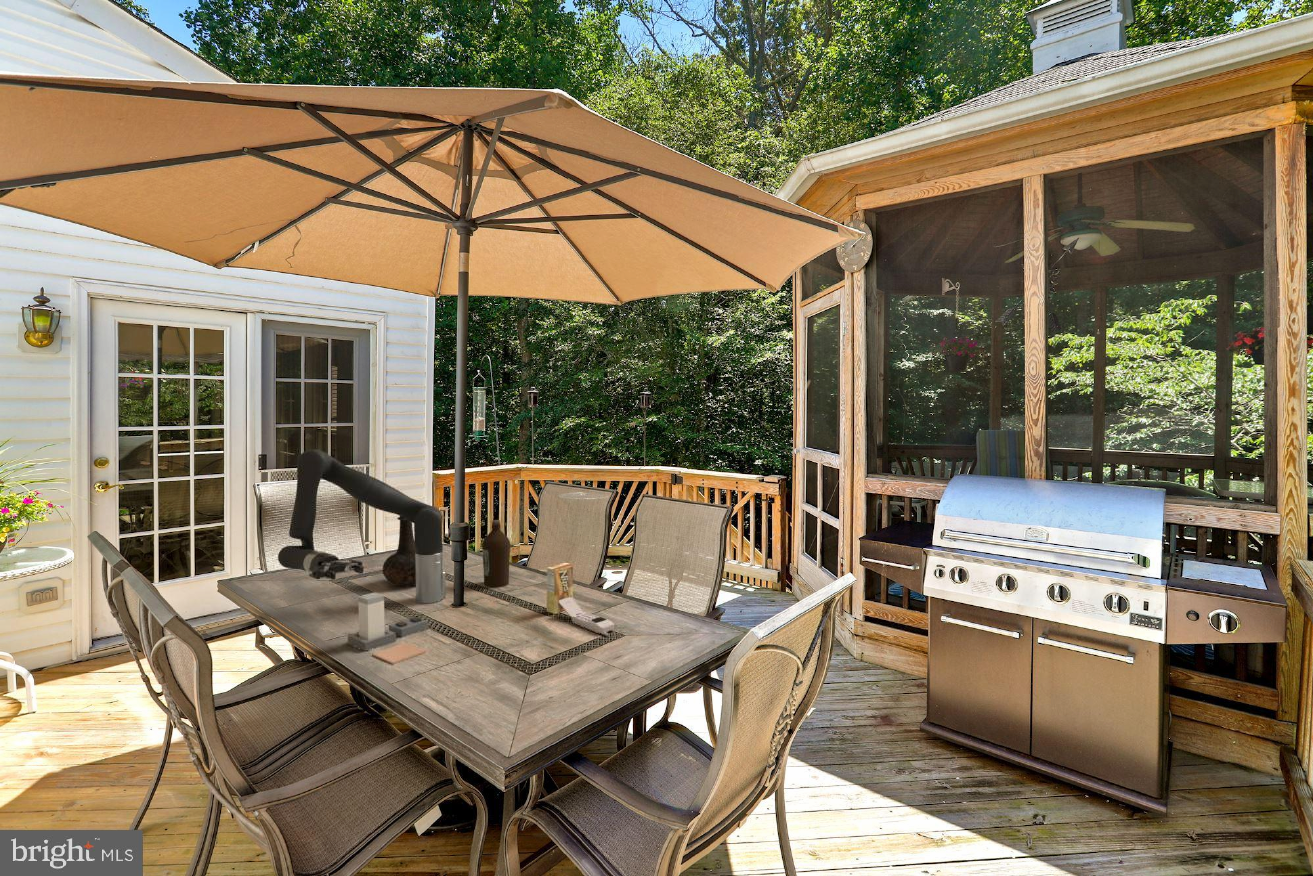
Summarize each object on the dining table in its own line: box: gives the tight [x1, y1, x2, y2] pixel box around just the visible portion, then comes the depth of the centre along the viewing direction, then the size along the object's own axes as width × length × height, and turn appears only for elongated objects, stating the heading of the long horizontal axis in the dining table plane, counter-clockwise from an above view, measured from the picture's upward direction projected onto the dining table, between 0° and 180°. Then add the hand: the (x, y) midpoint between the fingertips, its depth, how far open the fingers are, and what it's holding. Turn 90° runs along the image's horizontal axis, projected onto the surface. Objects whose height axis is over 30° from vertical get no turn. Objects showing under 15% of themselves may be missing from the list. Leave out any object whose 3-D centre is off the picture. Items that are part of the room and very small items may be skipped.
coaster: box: [372, 642, 427, 665], centre depth 175 cm, size 10×10×1 cm
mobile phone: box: [559, 597, 615, 637], centre depth 199 cm, size 6×6×25 cm
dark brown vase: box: [382, 516, 416, 587], centre depth 242 cm, size 18×18×28 cm
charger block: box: [357, 592, 386, 641], centre depth 183 cm, size 5×5×14 cm
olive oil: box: [481, 519, 511, 588], centre depth 242 cm, size 11×11×25 cm
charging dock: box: [347, 616, 429, 652], centre depth 188 cm, size 21×9×3 cm, turn 145°
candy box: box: [546, 562, 574, 615], centre depth 213 cm, size 9×4×15 cm, turn 145°
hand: (348, 573), depth 189 cm, fingers open, 8 cm apart
